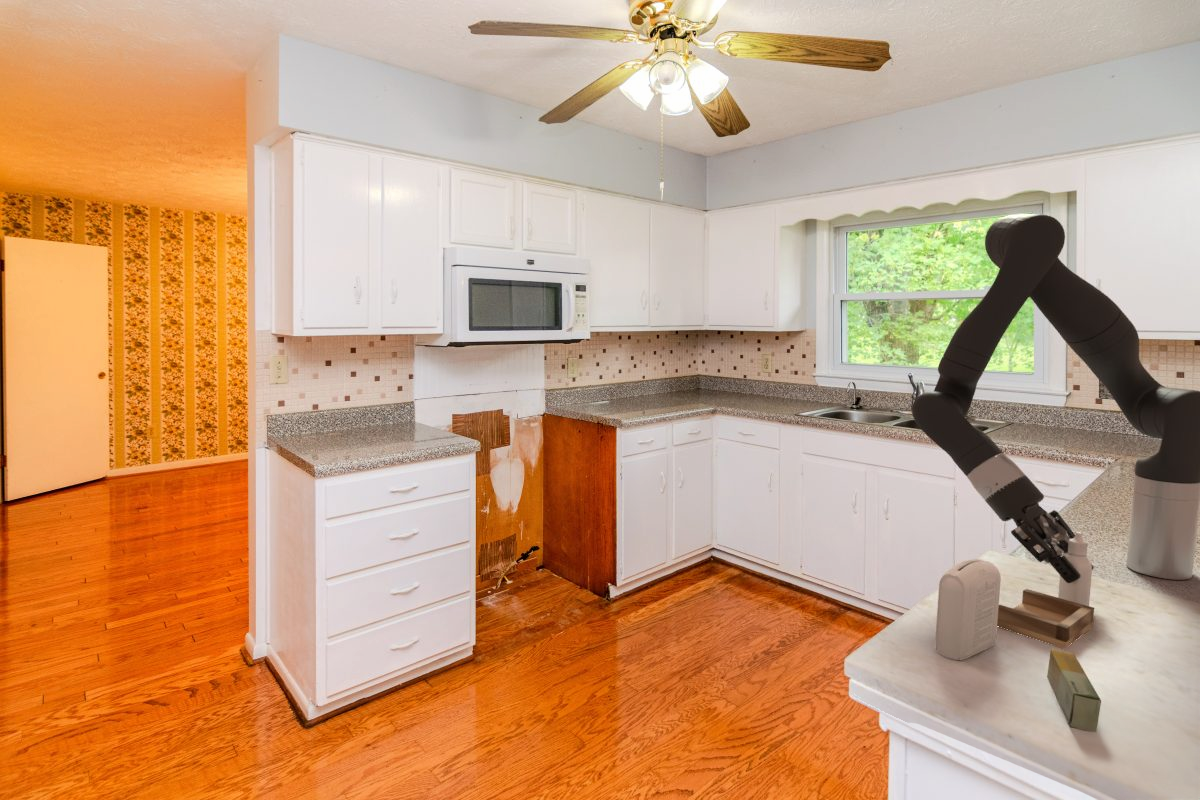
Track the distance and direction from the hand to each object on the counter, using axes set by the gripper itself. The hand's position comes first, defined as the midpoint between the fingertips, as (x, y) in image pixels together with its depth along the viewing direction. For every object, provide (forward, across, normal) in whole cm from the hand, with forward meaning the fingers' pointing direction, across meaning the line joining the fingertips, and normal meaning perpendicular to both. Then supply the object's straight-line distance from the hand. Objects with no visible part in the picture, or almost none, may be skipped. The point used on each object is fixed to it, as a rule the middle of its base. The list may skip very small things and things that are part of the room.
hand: (1081, 575), depth 105 cm
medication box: (+10, -32, -2) cm, 34 cm away
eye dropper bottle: (+3, 0, +4) cm, 5 cm away
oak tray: (+3, -12, +4) cm, 13 cm away
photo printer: (0, -28, +7) cm, 29 cm away
